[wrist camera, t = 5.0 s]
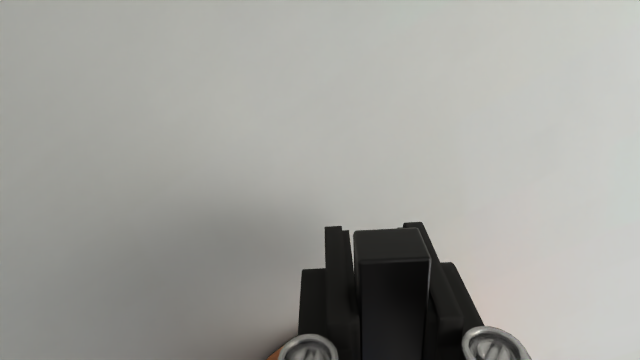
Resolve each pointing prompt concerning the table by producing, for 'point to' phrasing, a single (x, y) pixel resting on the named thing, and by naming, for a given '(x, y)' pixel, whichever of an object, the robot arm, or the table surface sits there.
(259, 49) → the table surface
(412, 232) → the copper saucepan
